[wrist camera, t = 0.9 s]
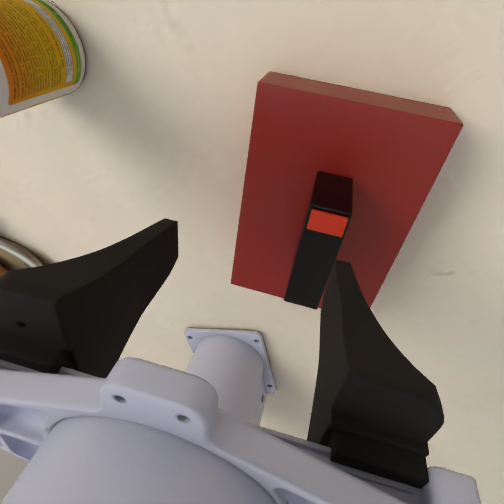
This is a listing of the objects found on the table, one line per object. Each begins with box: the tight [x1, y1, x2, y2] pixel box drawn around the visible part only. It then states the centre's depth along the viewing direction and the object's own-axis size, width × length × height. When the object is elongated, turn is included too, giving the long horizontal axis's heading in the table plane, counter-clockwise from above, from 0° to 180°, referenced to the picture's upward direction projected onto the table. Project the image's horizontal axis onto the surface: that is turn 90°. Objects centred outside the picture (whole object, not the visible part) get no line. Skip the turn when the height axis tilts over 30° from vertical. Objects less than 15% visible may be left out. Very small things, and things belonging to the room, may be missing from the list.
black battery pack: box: [284, 171, 353, 309], centre depth 19 cm, size 6×2×4 cm, turn 172°
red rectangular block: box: [231, 72, 463, 308], centre depth 22 cm, size 14×10×3 cm
